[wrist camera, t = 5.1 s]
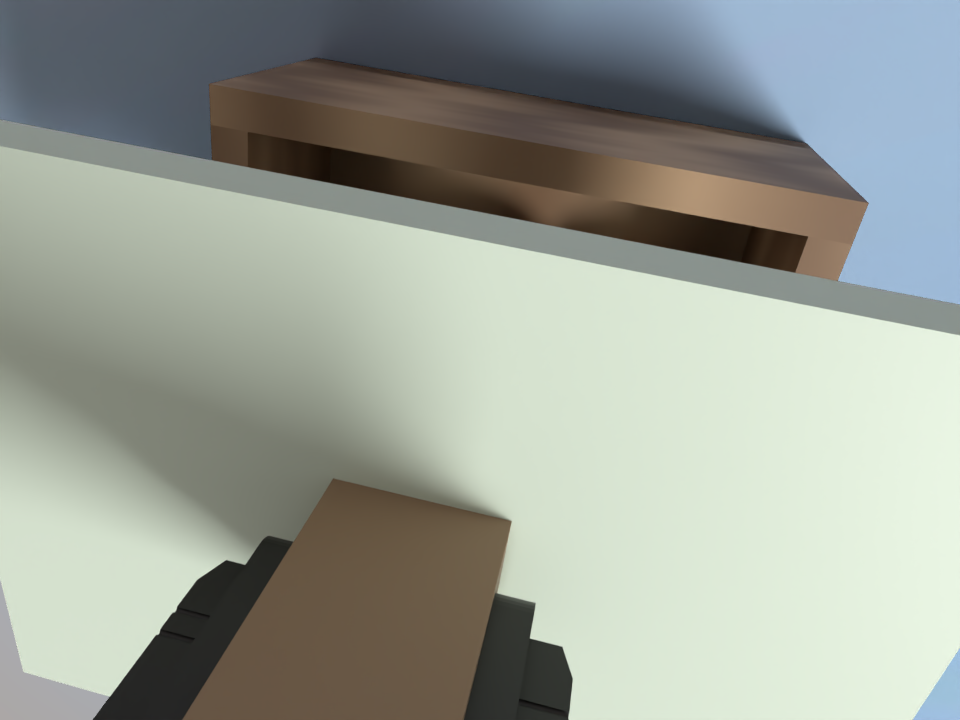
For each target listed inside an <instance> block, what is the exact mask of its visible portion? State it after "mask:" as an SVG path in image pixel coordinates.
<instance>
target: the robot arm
mask: <svg viewBox="0 0 960 720" xmlns="http://www.w3.org/2000/svg"><path fill="white" fill-rule="evenodd" d="M292 543H293V541H289V540H285V539H281V538H277V537H273V536H267V537H265V538H264V539H263V540H262V541H261V543H260V544H259V545H258V547H257V548H256V550H255V551H254V553H253V554H252V556H251V557H250V559H249V560H248V562H247V563H246V564H245V565H244V564H240V563H236V562H232V561H228V560H225V561H224V562H223V563H221V564H220V565H218V566H217V567H215V568H214V569H212V570H211V571H209V572H208V573H206V574H205V575H203V576H202V577H201V578H199V579H198V580H196V582H195V583H194V585H193V586H192V587H191V589H190V590H189V591H188V593H187V594H186V595H185V597H184V598H183V599H182V601H181V602H180V603H179V605H178V606H177V609H176V611H175V613H174V612H173V613H172V614H171V615H170V617H169V618H168V619H167V621H166V622H165V623H164V625H163V626H162V627H161V629H160V633H159V634H158V635H156V636H155V637H154V638H153V640H152V641H151V642H150V644H149V645H148V646H147V648H146V649H145V650H144V652H143V653H142V654H141V656H140V657H139V658H138V660H137V661H136V662H135V664H134V665H133V666H132V668H131V669H130V670H129V672H128V673H127V674H126V676H125V677H124V678H123V680H122V681H121V683H120V684H119V685H118V687H117V688H116V689H115V691H114V692H113V693H112V695H111V696H110V697H109V699H108V700H107V701H106V703H105V704H104V705H103V707H102V708H101V710H100V711H99V712H98V714H97V715H96V716H95V718H94V719H93V720H182V719H183V718H184V716H185V715H186V713H187V711H188V710H189V708H190V707H191V705H192V703H193V702H194V700H195V699H196V697H197V695H198V694H199V692H200V691H201V689H202V687H203V686H204V684H205V683H206V681H207V679H208V678H209V676H210V675H211V673H212V671H213V670H214V668H215V667H216V665H217V663H218V662H219V660H220V659H221V657H222V655H223V654H224V652H225V651H226V649H227V647H228V646H229V644H230V643H231V641H232V639H233V638H234V636H235V635H236V633H237V631H238V630H239V628H240V627H241V625H242V623H243V622H244V620H245V619H246V617H247V615H248V614H249V612H250V611H251V609H252V607H253V606H254V604H255V603H256V601H257V599H258V598H259V596H260V595H261V593H262V591H263V590H264V588H265V587H266V585H267V583H268V582H269V580H270V579H271V577H272V575H273V574H274V572H275V571H276V569H277V567H278V566H279V564H280V563H281V561H282V559H283V558H284V556H285V555H286V553H287V551H288V550H289V548H290V547H291V545H292ZM535 605H536V603H534V602H530V601H526V600H522V599H518V598H514V597H510V596H506V595H502V594H498V593H495V596H494V599H493V603H492V607H491V612H490V616H489V620H488V624H487V628H486V632H485V636H484V640H483V644H482V648H481V652H480V656H479V660H478V665H477V669H476V673H475V677H474V681H473V685H472V689H471V693H470V697H469V701H468V705H467V709H466V713H465V717H464V720H569V719H568V717H569V711H570V702H571V692H572V683H573V678H572V675H571V672H570V668H569V665H568V662H567V659H566V656H565V653H564V650H563V647H561V646H558V645H554V644H550V643H546V642H542V641H538V640H534V639H530V635H531V629H532V623H533V617H534V612H535Z"/></svg>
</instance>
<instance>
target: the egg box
mask: <svg viewBox="0 0 960 720" xmlns="http://www.w3.org/2000/svg"><path fill="white" fill-rule="evenodd" d="M209 96H210V122H211V147H212V160H213V161H218V162H223V163H228V164H233V165H239V166H244V167H249V168H254V169H259V170H264V171H270V172H275V173H280V174H285V175H290V176H296V177H301V178H306V179H311V180H316V181H321V182H327V183H332V184H337V185H342V186H347V187H353V188H358V189H363V190H368V191H373V192H378V193H384V194H389V195H394V196H399V197H404V198H410V199H415V200H420V201H425V202H430V203H436V204H441V205H446V206H451V207H456V208H461V209H467V210H472V211H477V212H482V213H487V214H493V215H498V216H503V217H508V218H513V219H518V220H524V221H529V222H534V223H539V224H544V225H550V226H555V227H560V228H565V229H570V230H575V231H581V232H586V233H591V234H596V235H601V236H607V237H612V238H617V239H622V240H627V241H632V242H638V243H643V244H648V245H653V246H658V247H664V248H669V249H674V250H679V251H684V252H689V253H695V254H700V255H705V256H710V257H715V258H721V259H726V260H731V261H736V262H741V263H746V264H752V265H757V266H762V267H767V268H772V269H778V270H783V271H788V272H793V273H798V274H804V275H809V276H814V277H819V278H824V279H829V280H835V281H838V278H839V276H840V273H841V271H842V268H843V266H844V263H845V261H846V258H847V256H848V253H849V251H850V248H851V246H852V243H853V241H854V238H855V236H856V233H857V231H858V228H859V226H860V223H861V221H862V218H863V216H864V213H865V211H866V208H867V206H868V202H867V201H866V200H865V199H864V198H863V197H862V196H861V195H860V194H859V193H858V192H857V191H855V190H854V189H853V188H852V187H851V186H850V185H849V184H848V183H847V182H846V181H845V180H844V179H843V178H842V177H841V176H840V175H839V174H838V173H837V172H836V171H835V170H834V169H833V168H832V167H831V166H829V165H828V164H827V163H826V162H825V161H824V160H823V159H822V158H821V157H820V156H819V155H818V154H817V153H816V152H815V151H814V150H813V149H812V148H811V147H810V146H809V145H808V144H807V143H802V142H796V141H790V140H784V139H779V138H773V137H767V136H762V135H756V134H750V133H744V132H739V131H733V130H727V129H721V128H716V127H710V126H704V125H699V124H693V123H687V122H681V121H676V120H670V119H664V118H658V117H653V116H647V115H641V114H635V113H630V112H624V111H618V110H613V109H607V108H601V107H595V106H590V105H584V104H578V103H572V102H567V101H561V100H555V99H550V98H544V97H538V96H532V95H527V94H521V93H515V92H509V91H504V90H498V89H492V88H486V87H481V86H475V85H469V84H464V83H458V82H452V81H446V80H441V79H435V78H429V77H423V76H418V75H412V74H406V73H401V72H395V71H389V70H383V69H378V68H372V67H366V66H360V65H355V64H349V63H343V62H337V61H332V60H326V59H320V58H313V59H309V60H305V61H301V62H296V63H292V64H288V65H284V66H280V67H276V68H272V69H268V70H264V71H259V72H255V73H251V74H247V75H243V76H239V77H235V78H231V79H227V80H222V81H218V82H214V83H210V84H209Z"/></svg>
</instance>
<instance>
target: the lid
mask: <svg viewBox="0 0 960 720" xmlns="http://www.w3.org/2000/svg"><path fill="white" fill-rule="evenodd" d="M267 536H273V537H277V538H281V539H285V540H289V541H293V543H292V545H291V547H290V548H289V550H288V551H287V553H286V555H285V556H284V558H283V559H282V561H281V563H280V564H279V566H278V567H277V569H276V571H275V572H274V574H273V575H272V577H271V579H270V580H269V582H268V583H267V585H266V587H265V588H264V590H263V591H262V593H261V595H260V596H259V598H258V599H257V601H256V603H255V604H254V606H253V607H252V609H251V611H250V612H249V614H248V615H247V617H246V619H245V620H244V622H243V623H242V625H241V627H240V628H239V630H238V631H237V633H236V635H235V636H234V638H233V639H232V641H231V643H230V644H229V646H228V647H227V649H226V651H225V652H224V654H223V655H222V657H221V659H220V660H219V662H218V663H217V665H216V667H215V668H214V670H213V671H212V673H211V675H210V676H209V678H208V679H207V681H206V683H205V684H204V686H203V687H202V689H201V691H200V692H199V694H198V695H197V697H196V699H195V700H194V702H193V703H192V705H191V707H190V708H189V710H188V711H187V713H186V715H185V716H184V718H183V719H182V720H464V717H465V713H466V709H467V705H468V701H469V697H470V693H471V689H472V685H473V681H474V677H475V673H476V669H477V665H478V660H479V656H480V652H481V648H482V644H483V640H484V636H485V632H486V628H487V624H488V620H489V616H490V612H491V607H492V603H493V599H494V596H495V593H498V594H502V595H506V596H510V597H514V598H518V599H522V600H526V601H530V602H534V603H536V605H535V612H534V617H533V623H532V629H531V635H530V639H534V640H538V641H542V642H546V643H550V644H554V645H558V646H561V647H563V650H564V653H565V656H566V659H567V662H568V665H569V668H570V672H571V675H572V678H573V683H572V692H571V702H570V711H569V717H568V719H569V720H913V718H914V717H915V715H916V714H917V712H918V711H919V709H920V708H921V706H922V704H923V703H924V701H925V700H926V698H927V697H928V695H929V694H930V692H931V691H932V689H933V688H934V686H935V685H936V683H937V682H938V680H939V679H940V677H941V676H942V674H943V673H944V671H945V669H946V668H947V666H948V665H949V663H950V662H951V660H952V659H953V657H954V656H955V654H956V653H957V651H958V650H959V648H960V305H959V304H954V303H949V302H943V301H938V300H933V299H928V298H923V297H918V296H912V295H907V294H902V293H897V292H892V291H886V290H881V289H876V288H871V287H866V286H861V285H855V284H850V283H845V282H840V281H835V280H829V279H824V278H819V277H814V276H809V275H804V274H798V273H793V272H788V271H783V270H778V269H772V268H767V267H762V266H757V265H752V264H746V263H741V262H736V261H731V260H726V259H721V258H715V257H710V256H705V255H700V254H695V253H689V252H684V251H679V250H674V249H669V248H664V247H658V246H653V245H648V244H643V243H638V242H632V241H627V240H622V239H617V238H612V237H607V236H601V235H596V234H591V233H586V232H581V231H575V230H570V229H565V228H560V227H555V226H550V225H544V224H539V223H534V222H529V221H524V220H518V219H513V218H508V217H503V216H498V215H493V214H487V213H482V212H477V211H472V210H467V209H461V208H456V207H451V206H446V205H441V204H436V203H430V202H425V201H420V200H415V199H410V198H404V197H399V196H394V195H389V194H384V193H378V192H373V191H368V190H363V189H358V188H353V187H347V186H342V185H337V184H332V183H327V182H321V181H316V180H311V179H306V178H301V177H296V176H290V175H285V174H280V173H275V172H270V171H264V170H259V169H254V168H249V167H244V166H239V165H233V164H228V163H223V162H218V161H213V160H207V159H202V158H197V157H192V156H187V155H182V154H176V153H171V152H166V151H161V150H156V149H150V148H145V147H140V146H135V145H130V144H125V143H119V142H114V141H109V140H104V139H99V138H93V137H88V136H83V135H78V134H73V133H68V132H62V131H57V130H52V129H47V128H42V127H36V126H31V125H26V124H21V123H16V122H10V121H5V120H0V580H1V584H2V588H3V592H4V596H5V600H6V604H7V608H8V612H9V615H10V620H11V624H12V628H13V632H14V636H15V640H16V644H17V648H18V652H19V656H20V660H21V664H22V668H23V672H26V673H29V674H32V675H36V676H40V677H43V678H46V679H50V680H53V681H57V682H60V683H64V684H67V685H71V686H74V687H78V688H81V689H85V690H88V691H92V692H95V693H99V694H103V695H106V696H111V695H112V693H113V692H114V691H115V689H116V688H117V687H118V685H119V684H120V683H121V681H122V680H123V678H124V677H125V676H126V674H127V673H128V672H129V670H130V669H131V668H132V666H133V665H134V664H135V662H136V661H137V660H138V658H139V657H140V656H141V654H142V653H143V652H144V650H145V649H146V648H147V646H148V645H149V644H150V642H151V641H152V640H153V638H154V637H155V636H156V635H158V634H159V633H160V629H161V627H162V626H163V625H164V623H165V622H166V621H167V619H168V618H169V617H170V615H171V614H172V613H173V612H174V613H175V611H176V609H177V606H178V605H179V603H180V602H181V601H182V599H183V598H184V597H185V595H186V594H187V593H188V591H189V590H190V589H191V587H192V586H193V585H194V583H195V582H196V580H198V579H199V578H201V577H202V576H203V575H205V574H206V573H208V572H209V571H211V570H212V569H214V568H215V567H217V566H218V565H220V564H221V563H223V562H224V561H225V560H228V561H232V562H236V563H240V564H244V565H245V564H246V563H247V562H248V560H249V559H250V557H251V556H252V554H253V553H254V551H255V550H256V548H257V547H258V545H259V544H260V543H261V541H262V540H263V539H264V538H265V537H267Z"/></svg>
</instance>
